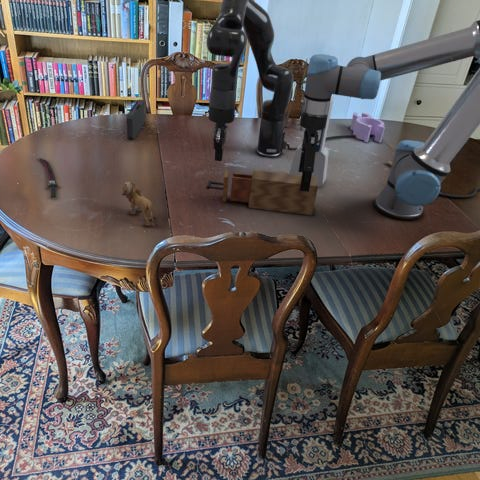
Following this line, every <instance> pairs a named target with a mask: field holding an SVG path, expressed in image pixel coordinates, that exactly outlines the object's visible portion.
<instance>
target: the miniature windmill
mask: <svg viewBox="0 0 480 480" xmlns="http://www.w3.org/2000/svg"><path fill="white" fill-rule="evenodd" d="M305 60H306V61H305V65H304V67H300V66H299V65H295V64H293V65H292V70H291V71H292V72H293V71H296V72H297V71H298V72H299V71H301V73H300V77H299V79H296V81H295V83H297V85H296V88H295V91H294V95H293V97H292V100H291V103H290V105H289V109H288V112H287V114H286V115H287V116H286V117H285V123H284V128H286V126H287V123H288V121H292V122H299V123H300V119H299V120H298V119H292V118H290V116H292V117H298V118H301V115H298V114H292V113H291V111H292V109H293V110H300V114H301V113H302V112H303V111H302V107H303V103H301V102H300V104H295V103H294V102H295V99H296V100H300V101H301V100H304V84H305V85H306V80H305V77H306V72H307V65H308V58H306V59H305ZM298 90H301V91H300V92H301V93H300V94H301V95H299V94H297V93H298ZM293 106H297V107H293ZM299 107H300V108H299ZM299 127H300V128H299V129H300V130H303V127H302V126H301V125H300V126H299Z"/></svg>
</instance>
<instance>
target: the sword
mask: <svg viewBox="0 0 480 480" xmlns="http://www.w3.org/2000/svg"><path fill="white" fill-rule="evenodd" d="M40 161H41V162H42V163H43V165H44V166H45V169H46V173H47V176H48V185H47V188H50V198H56V197H57V189H56V188H57V187H59V185H58V184H57V183H56V180H55V176H54V172H53V169H52V167H51V164H50V163H49V161H48V160H46V159H43V158H40Z"/></svg>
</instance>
